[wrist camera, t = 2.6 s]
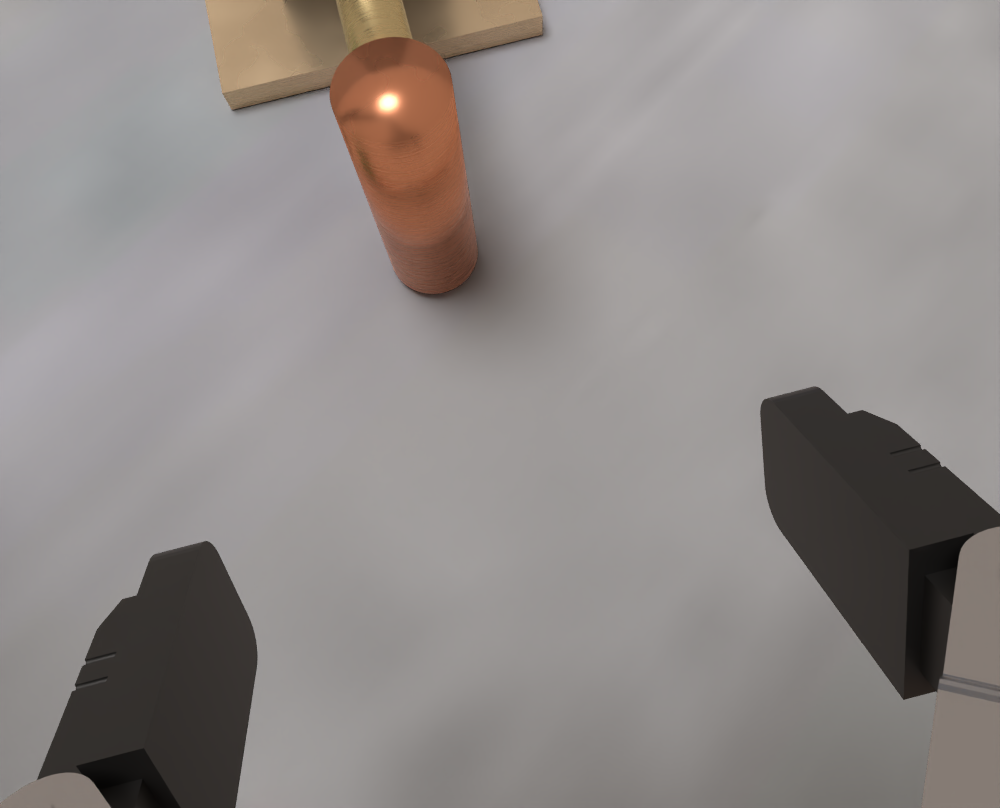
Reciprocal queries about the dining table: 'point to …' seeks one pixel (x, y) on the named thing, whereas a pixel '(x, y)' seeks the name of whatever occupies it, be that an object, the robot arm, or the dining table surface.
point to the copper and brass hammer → (405, 145)
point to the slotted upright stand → (341, 39)
